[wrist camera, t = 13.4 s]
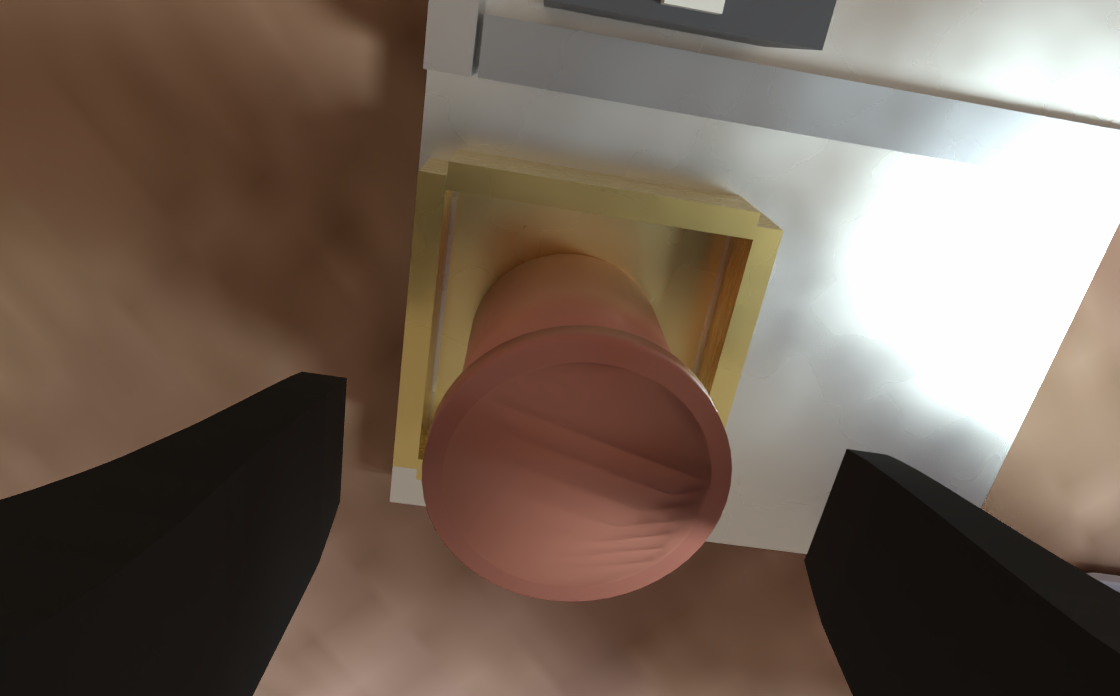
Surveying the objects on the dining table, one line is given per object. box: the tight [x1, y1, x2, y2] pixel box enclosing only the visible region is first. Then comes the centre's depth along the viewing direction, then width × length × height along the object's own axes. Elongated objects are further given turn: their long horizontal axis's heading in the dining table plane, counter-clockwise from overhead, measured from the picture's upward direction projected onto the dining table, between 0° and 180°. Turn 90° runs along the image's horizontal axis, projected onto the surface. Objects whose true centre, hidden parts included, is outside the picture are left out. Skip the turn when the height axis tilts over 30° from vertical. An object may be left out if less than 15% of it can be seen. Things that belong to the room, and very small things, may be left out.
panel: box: [390, 0, 1120, 554], centre depth 14 cm, size 14×18×2 cm
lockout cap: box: [422, 254, 732, 602], centre depth 13 cm, size 5×5×5 cm
